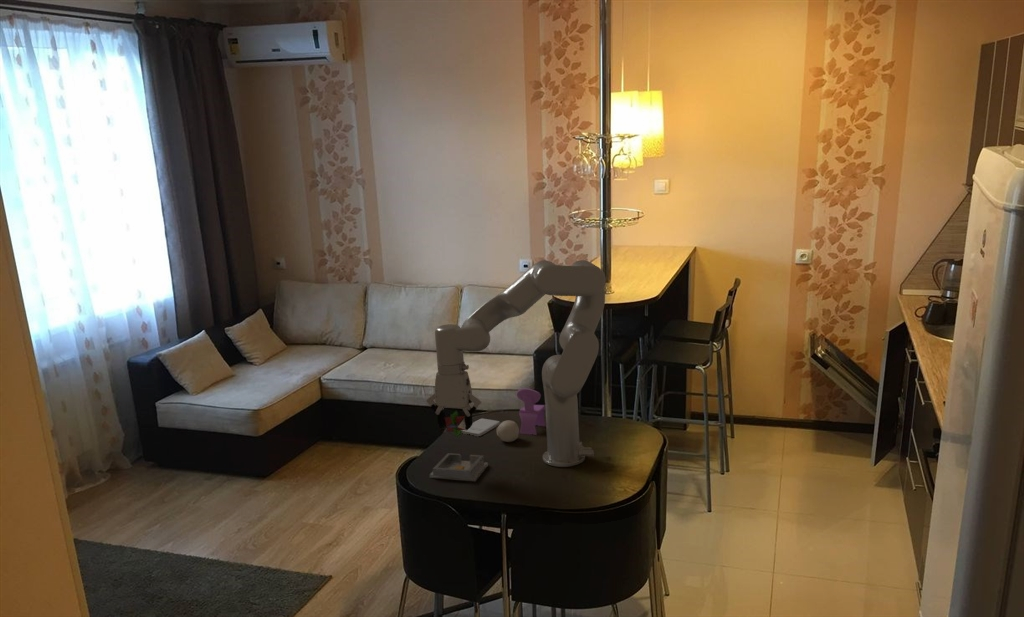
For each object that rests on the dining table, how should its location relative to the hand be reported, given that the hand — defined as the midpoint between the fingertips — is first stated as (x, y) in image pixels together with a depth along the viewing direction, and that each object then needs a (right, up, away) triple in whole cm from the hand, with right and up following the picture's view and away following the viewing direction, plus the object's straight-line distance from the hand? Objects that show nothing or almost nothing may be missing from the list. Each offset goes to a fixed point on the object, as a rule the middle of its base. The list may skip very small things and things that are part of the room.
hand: (455, 426), depth 226 cm
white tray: (+1, -14, +3) cm, 14 cm away
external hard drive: (+6, -7, +37) cm, 38 cm away
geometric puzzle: (0, -2, +1) cm, 2 cm away
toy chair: (+23, -6, +33) cm, 41 cm away
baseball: (+15, -8, +24) cm, 30 cm away
